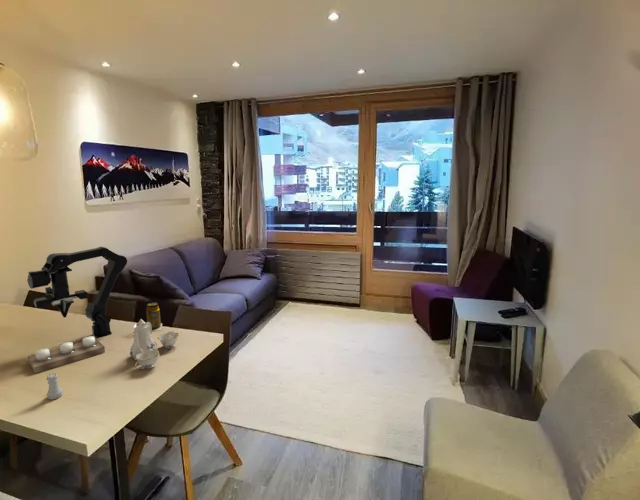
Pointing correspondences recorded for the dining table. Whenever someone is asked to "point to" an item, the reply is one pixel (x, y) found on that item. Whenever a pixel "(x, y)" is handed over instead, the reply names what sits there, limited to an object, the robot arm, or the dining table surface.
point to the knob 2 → (88, 341)
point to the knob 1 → (42, 354)
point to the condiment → (154, 316)
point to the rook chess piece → (53, 387)
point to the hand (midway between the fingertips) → (64, 317)
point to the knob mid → (66, 347)
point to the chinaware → (149, 344)
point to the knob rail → (65, 356)
